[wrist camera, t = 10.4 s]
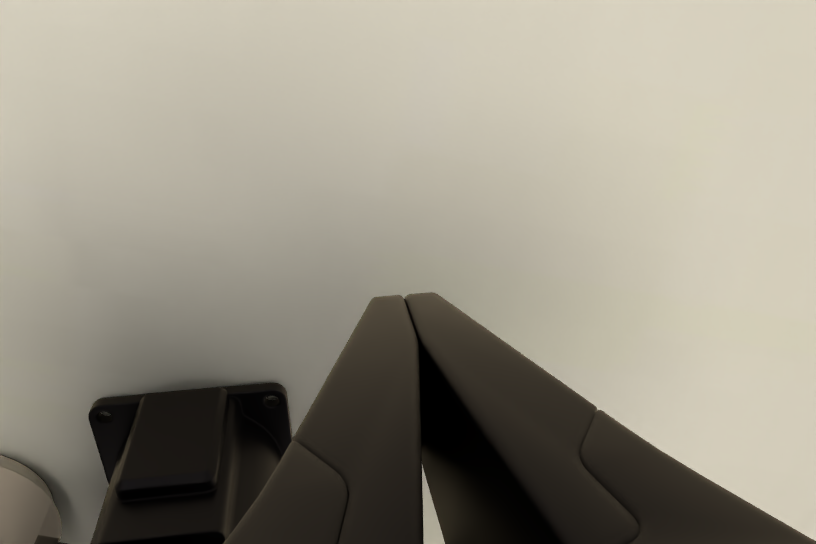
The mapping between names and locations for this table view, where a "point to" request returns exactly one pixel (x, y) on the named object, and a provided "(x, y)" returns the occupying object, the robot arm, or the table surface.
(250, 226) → the table surface
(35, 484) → the energy drink can
